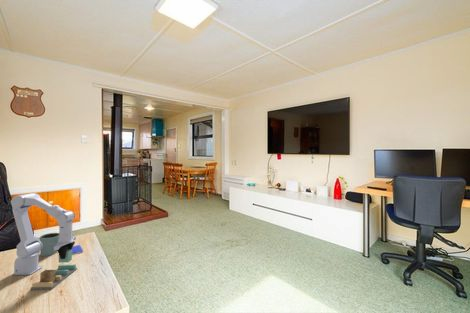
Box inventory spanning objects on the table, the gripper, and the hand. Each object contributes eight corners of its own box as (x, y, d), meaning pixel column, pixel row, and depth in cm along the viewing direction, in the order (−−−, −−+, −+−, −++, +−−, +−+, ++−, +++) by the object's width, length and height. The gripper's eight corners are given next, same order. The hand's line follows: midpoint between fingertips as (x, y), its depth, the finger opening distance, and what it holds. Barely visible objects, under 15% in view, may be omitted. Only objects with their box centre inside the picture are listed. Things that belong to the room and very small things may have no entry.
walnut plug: (40, 285, 105) (40, 273, 105) (45, 281, 108) (45, 269, 108) (50, 284, 105) (50, 273, 105) (55, 281, 108) (55, 269, 108)
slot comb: (30, 289, 102) (30, 283, 102) (58, 269, 120) (58, 264, 120) (52, 289, 103) (52, 283, 103) (76, 269, 121) (77, 264, 121)
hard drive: (65, 248, 145) (68, 254, 137) (79, 244, 151) (83, 250, 142) (65, 250, 145) (68, 256, 137) (79, 246, 151) (83, 252, 142)
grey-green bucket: (37, 253, 138) (37, 235, 138) (56, 248, 147) (56, 231, 147) (42, 258, 133) (43, 239, 133) (62, 252, 141) (62, 234, 141)
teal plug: (58, 262, 116) (58, 251, 116) (62, 259, 119) (62, 249, 119) (68, 262, 117) (68, 251, 117) (71, 259, 120) (72, 249, 120)
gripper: (63, 238, 111) (63, 263, 111) (81, 228, 126) (80, 251, 126) (49, 238, 111) (49, 263, 111) (69, 228, 125) (68, 251, 125)
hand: (65, 257), depth 118 cm, fingers closed on teal plug, 3 cm apart
